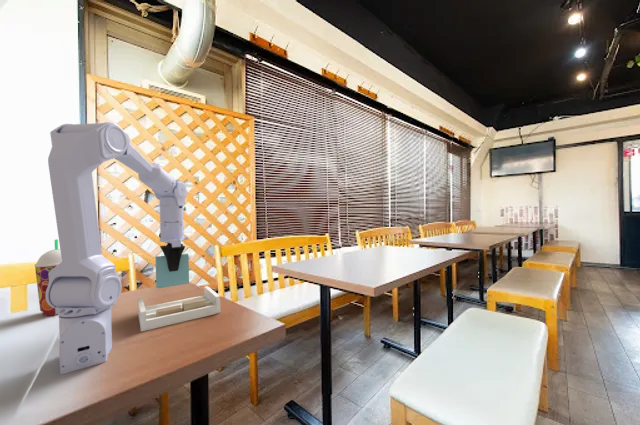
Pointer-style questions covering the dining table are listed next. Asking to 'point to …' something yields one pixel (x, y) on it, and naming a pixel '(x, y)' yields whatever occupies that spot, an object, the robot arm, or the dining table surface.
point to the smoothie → (46, 276)
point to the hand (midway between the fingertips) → (173, 270)
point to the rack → (151, 321)
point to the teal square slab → (171, 278)
